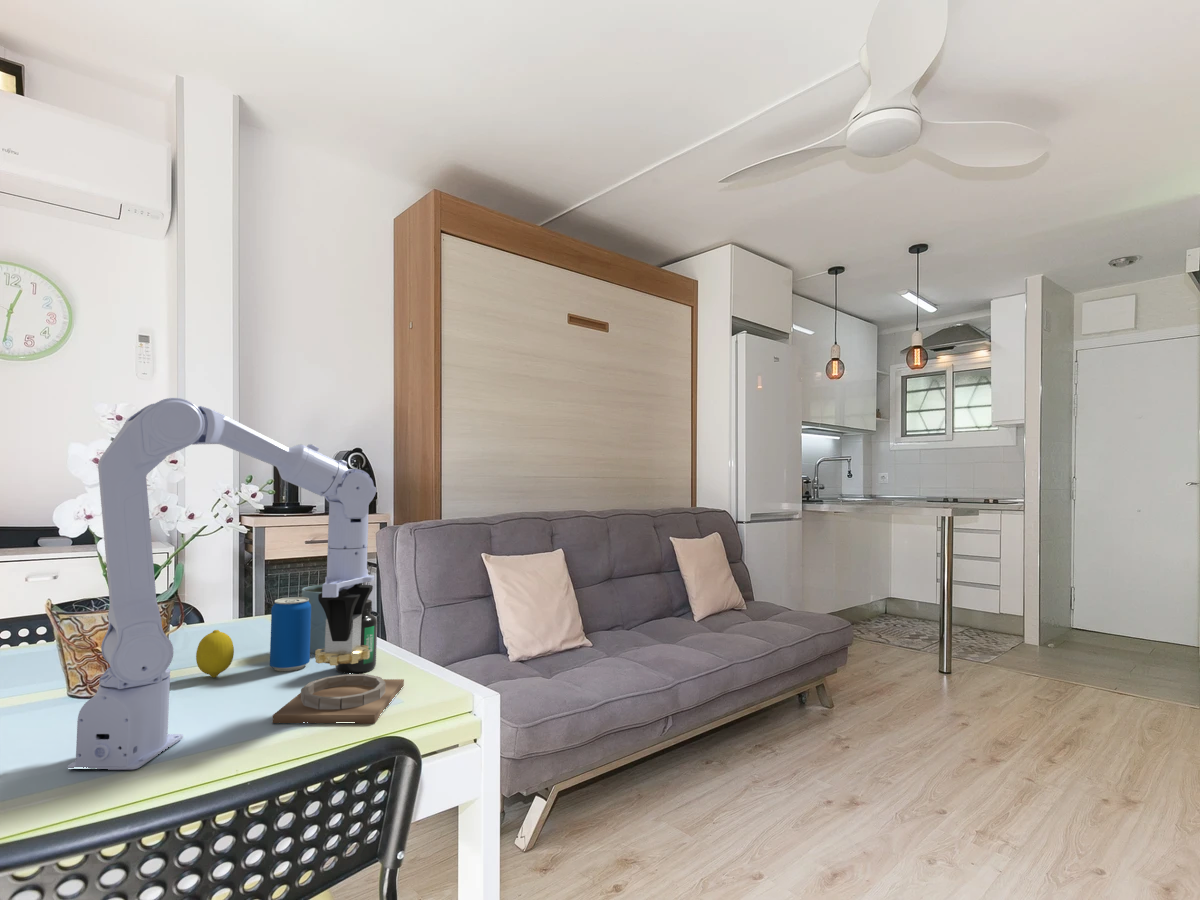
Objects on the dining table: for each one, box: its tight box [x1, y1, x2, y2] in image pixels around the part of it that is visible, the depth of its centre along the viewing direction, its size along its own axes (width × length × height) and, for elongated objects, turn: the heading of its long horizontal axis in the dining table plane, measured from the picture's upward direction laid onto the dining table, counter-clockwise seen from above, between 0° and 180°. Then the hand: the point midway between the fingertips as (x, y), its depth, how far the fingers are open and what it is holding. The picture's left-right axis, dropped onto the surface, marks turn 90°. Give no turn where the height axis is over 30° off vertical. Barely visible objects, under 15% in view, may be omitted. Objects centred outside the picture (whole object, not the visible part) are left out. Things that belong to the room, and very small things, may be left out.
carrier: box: [271, 673, 405, 725], centre depth 99 cm, size 16×14×3 cm
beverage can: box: [269, 596, 311, 672], centre depth 118 cm, size 6×6×12 cm
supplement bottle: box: [334, 598, 378, 675], centre depth 117 cm, size 7×7×12 cm
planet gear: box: [314, 614, 370, 666], centre depth 100 cm, size 8×8×6 cm
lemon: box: [195, 629, 235, 678], centre depth 111 cm, size 6×6×8 cm
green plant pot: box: [301, 584, 327, 655], centre depth 131 cm, size 10×10×12 cm
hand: (345, 637), depth 100 cm, fingers closed on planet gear, 4 cm apart
